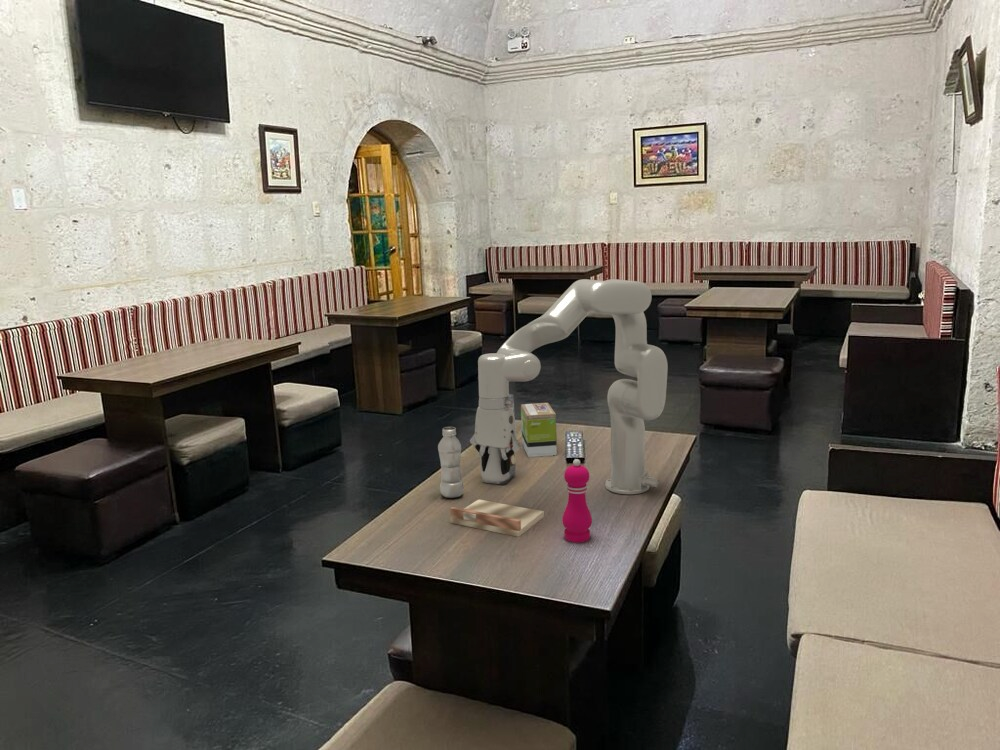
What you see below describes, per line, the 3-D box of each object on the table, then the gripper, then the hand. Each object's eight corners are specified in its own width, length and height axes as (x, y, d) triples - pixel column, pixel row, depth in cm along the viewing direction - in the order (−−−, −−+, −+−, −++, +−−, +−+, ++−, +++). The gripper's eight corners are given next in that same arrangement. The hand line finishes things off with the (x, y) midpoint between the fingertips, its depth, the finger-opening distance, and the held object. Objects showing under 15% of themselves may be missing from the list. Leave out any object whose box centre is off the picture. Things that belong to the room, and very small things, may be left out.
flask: (505, 483, 188) (504, 445, 186) (478, 481, 191) (476, 443, 189) (513, 474, 195) (513, 437, 193) (487, 472, 197) (486, 435, 195)
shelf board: (543, 516, 196) (543, 502, 195) (518, 537, 184) (517, 522, 183) (478, 504, 206) (478, 490, 205) (450, 523, 194) (449, 508, 193)
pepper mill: (572, 546, 178) (572, 466, 174) (556, 535, 185) (555, 457, 181) (597, 539, 182) (597, 460, 178) (581, 529, 188) (580, 452, 184)
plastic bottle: (460, 501, 209) (458, 432, 205) (437, 500, 210) (434, 431, 206) (466, 492, 215) (463, 425, 211) (443, 491, 216) (440, 425, 212)
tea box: (521, 444, 260) (520, 403, 256) (549, 443, 261) (549, 401, 258) (527, 458, 245) (526, 414, 242) (557, 456, 246) (557, 412, 243)
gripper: (530, 402, 188) (532, 471, 191) (473, 396, 196) (475, 462, 200) (516, 409, 181) (518, 480, 185) (457, 402, 190) (460, 471, 193)
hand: (495, 470), depth 192 cm, fingers closed on flask, 4 cm apart
